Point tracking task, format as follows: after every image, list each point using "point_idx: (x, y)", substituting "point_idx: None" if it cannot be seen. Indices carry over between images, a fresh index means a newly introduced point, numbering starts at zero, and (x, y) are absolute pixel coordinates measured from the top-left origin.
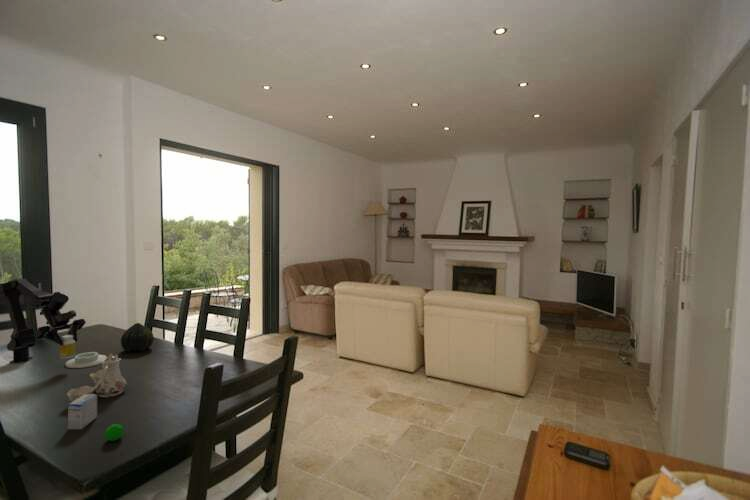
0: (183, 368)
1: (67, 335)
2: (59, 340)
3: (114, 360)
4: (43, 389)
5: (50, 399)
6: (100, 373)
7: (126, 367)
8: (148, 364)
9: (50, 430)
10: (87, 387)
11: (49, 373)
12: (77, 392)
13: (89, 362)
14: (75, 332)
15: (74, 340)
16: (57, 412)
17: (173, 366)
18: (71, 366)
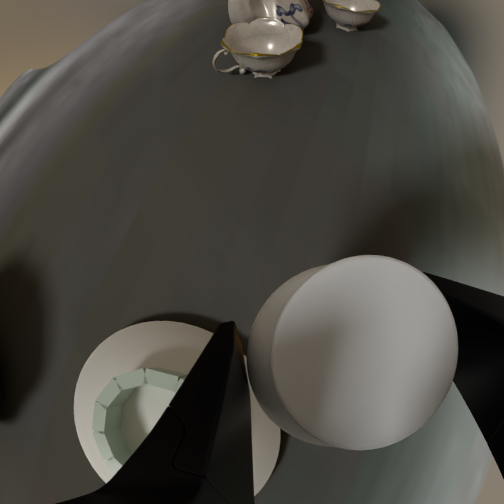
0: (71, 68)
1: (362, 397)
2: (473, 287)
3: None
4: (430, 169)
5: (409, 83)
6: (258, 60)
7: (111, 169)
8: (63, 148)
9: (398, 5)
10: (332, 5)
11: None
12: (354, 16)
13: (172, 368)
14: (179, 427)
15: (261, 317)
16: (391, 30)
17: (63, 91)
18: None
